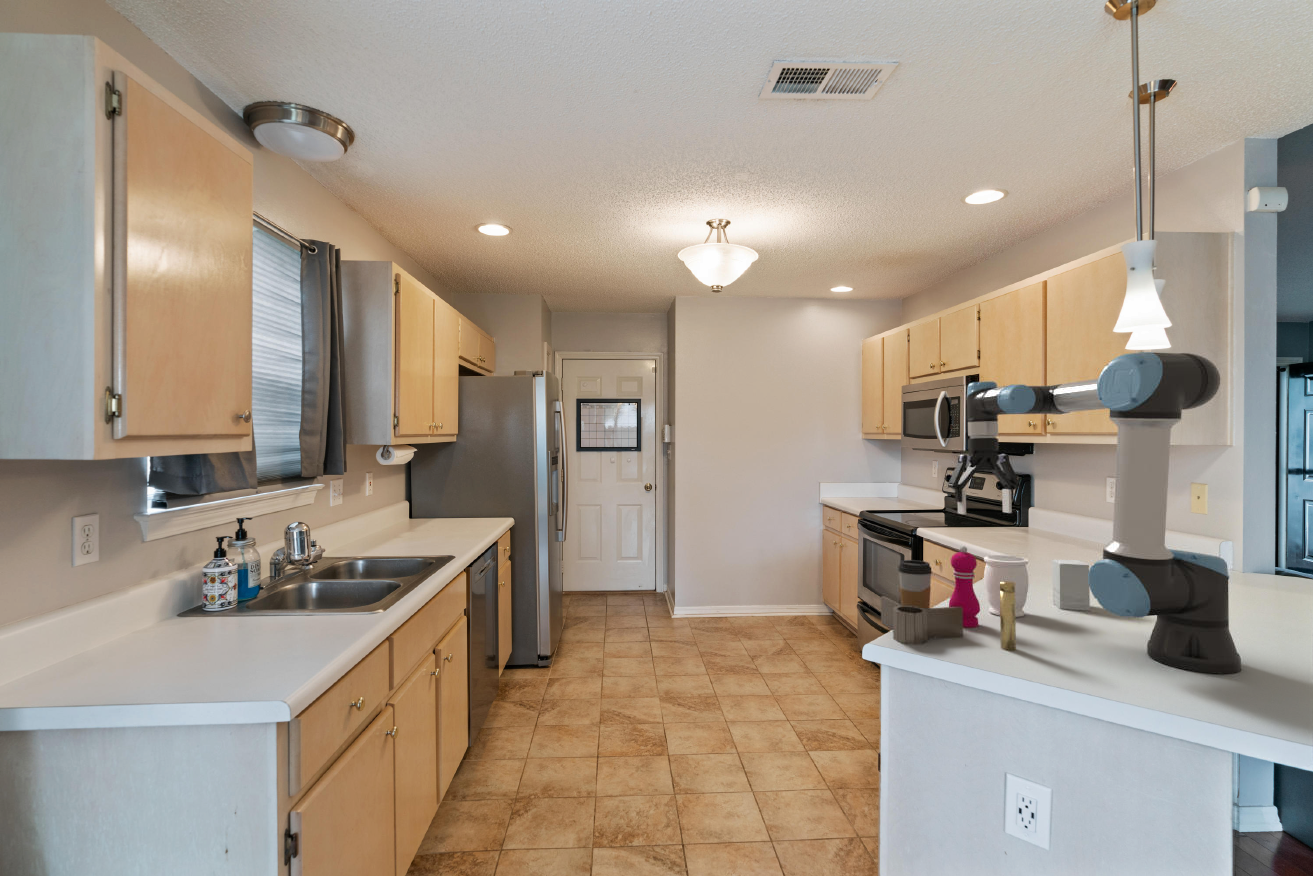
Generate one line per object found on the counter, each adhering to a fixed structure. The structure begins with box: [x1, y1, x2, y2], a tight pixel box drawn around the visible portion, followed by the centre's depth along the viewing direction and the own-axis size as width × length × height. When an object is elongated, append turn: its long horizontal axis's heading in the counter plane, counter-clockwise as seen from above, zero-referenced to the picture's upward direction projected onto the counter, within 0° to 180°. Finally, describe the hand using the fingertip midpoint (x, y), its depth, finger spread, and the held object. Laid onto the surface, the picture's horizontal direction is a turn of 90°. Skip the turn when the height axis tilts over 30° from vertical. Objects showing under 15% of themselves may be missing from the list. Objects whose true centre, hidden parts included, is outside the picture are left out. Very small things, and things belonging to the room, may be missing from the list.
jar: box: [983, 554, 1030, 618], centre depth 171 cm, size 11×10×15 cm
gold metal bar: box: [999, 581, 1017, 652], centre depth 143 cm, size 3×3×15 cm
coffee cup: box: [897, 559, 933, 609], centre depth 166 cm, size 8×8×15 cm
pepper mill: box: [948, 545, 981, 628], centre depth 162 cm, size 7×7×20 cm
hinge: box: [880, 595, 964, 645], centre depth 155 cm, size 17×17×7 cm
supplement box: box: [1051, 559, 1091, 612], centre depth 177 cm, size 7×7×13 cm
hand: (984, 513), depth 176 cm, fingers open, 13 cm apart
